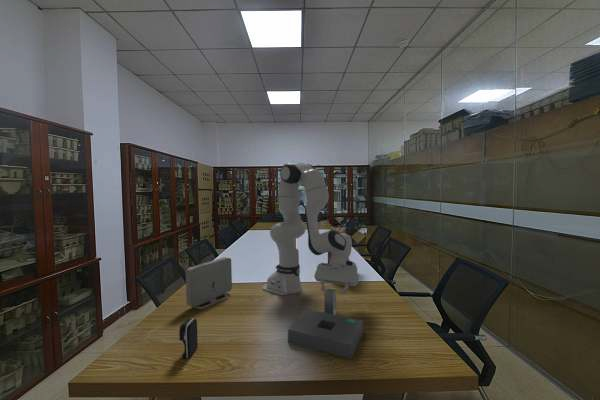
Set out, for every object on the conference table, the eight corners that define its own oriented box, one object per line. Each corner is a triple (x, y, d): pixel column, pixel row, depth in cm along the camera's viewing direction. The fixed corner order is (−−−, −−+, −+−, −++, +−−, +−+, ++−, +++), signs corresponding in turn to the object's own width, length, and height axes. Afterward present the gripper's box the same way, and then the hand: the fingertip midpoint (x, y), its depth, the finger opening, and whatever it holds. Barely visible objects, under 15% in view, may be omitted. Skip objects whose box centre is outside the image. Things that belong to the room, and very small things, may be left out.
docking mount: (288, 342, 102) (287, 328, 101) (307, 320, 118) (307, 308, 118) (351, 359, 91) (351, 343, 91) (363, 332, 108) (363, 319, 107)
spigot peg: (324, 318, 120) (324, 291, 119) (327, 314, 123) (327, 288, 123) (333, 320, 118) (333, 293, 118) (336, 316, 122) (335, 289, 121)
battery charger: (188, 347, 100) (187, 316, 99) (198, 347, 99) (197, 316, 99) (178, 359, 93) (177, 326, 92) (189, 359, 92) (188, 326, 92)
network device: (194, 312, 127) (193, 270, 126) (183, 308, 132) (181, 267, 131) (235, 294, 149) (234, 257, 148) (223, 291, 153) (222, 255, 152)
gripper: (316, 259, 133) (309, 285, 125) (358, 263, 124) (353, 291, 116) (320, 265, 137) (313, 291, 129) (360, 270, 129) (356, 298, 120)
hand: (332, 291), depth 122 cm, fingers open, 8 cm apart
